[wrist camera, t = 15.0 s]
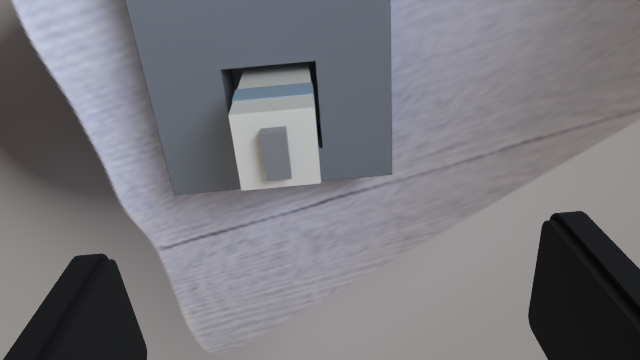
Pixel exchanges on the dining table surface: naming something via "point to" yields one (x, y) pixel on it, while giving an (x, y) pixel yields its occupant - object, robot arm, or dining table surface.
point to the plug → (275, 127)
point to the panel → (260, 50)
